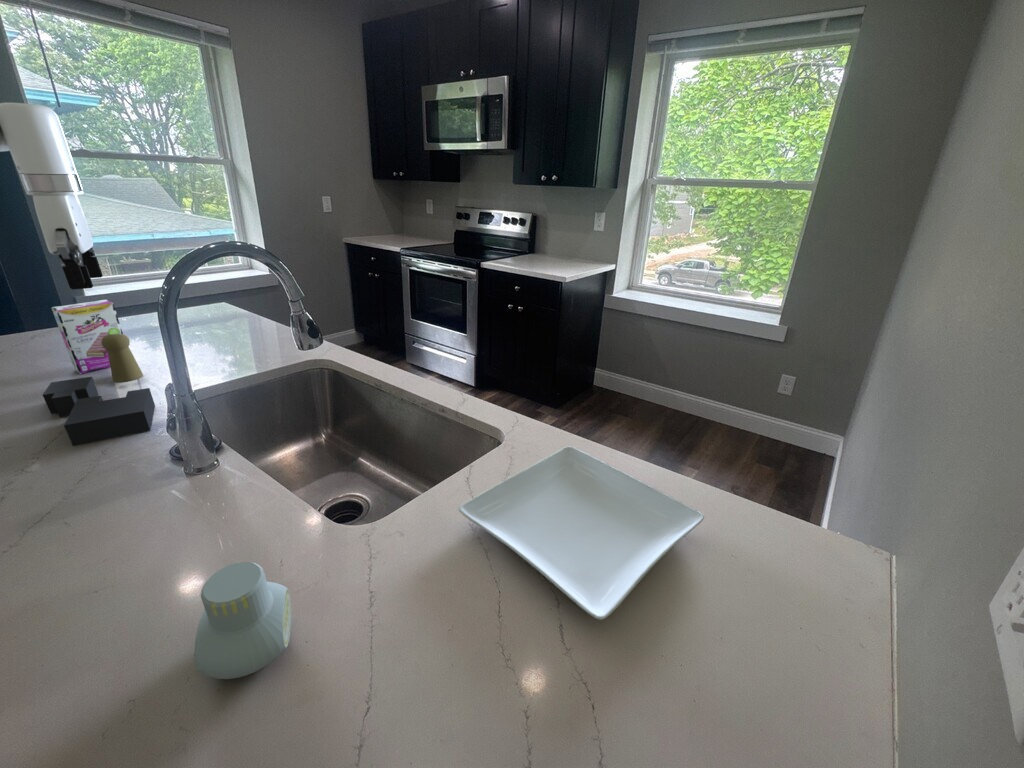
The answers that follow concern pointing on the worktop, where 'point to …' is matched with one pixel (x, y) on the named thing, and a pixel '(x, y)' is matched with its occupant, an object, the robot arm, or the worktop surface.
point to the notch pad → (110, 417)
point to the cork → (121, 358)
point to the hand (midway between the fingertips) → (87, 282)
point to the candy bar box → (87, 332)
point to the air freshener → (241, 622)
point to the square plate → (583, 525)
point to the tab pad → (68, 394)
